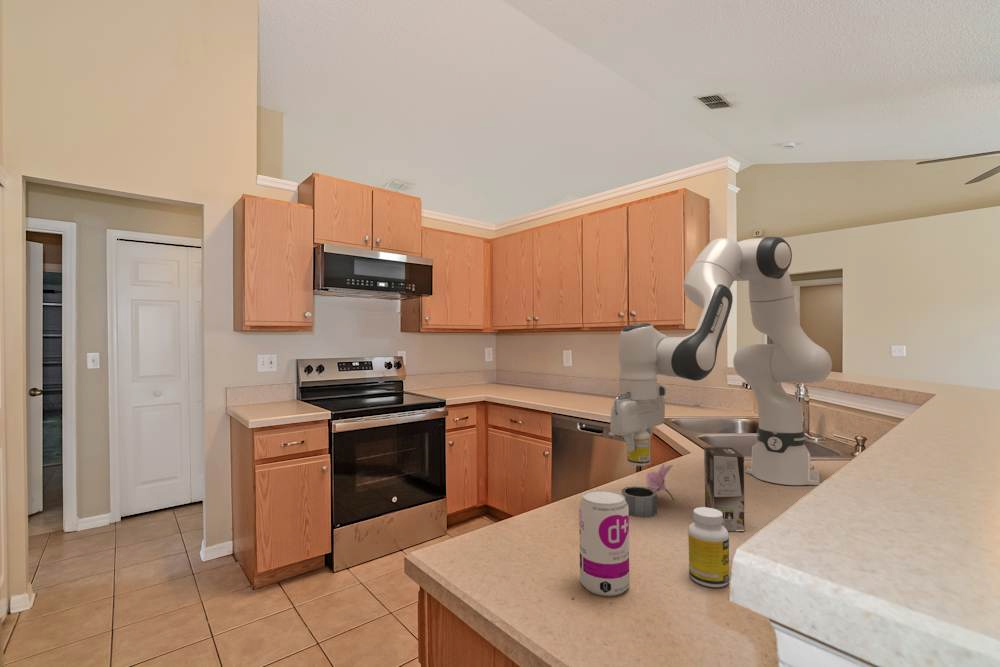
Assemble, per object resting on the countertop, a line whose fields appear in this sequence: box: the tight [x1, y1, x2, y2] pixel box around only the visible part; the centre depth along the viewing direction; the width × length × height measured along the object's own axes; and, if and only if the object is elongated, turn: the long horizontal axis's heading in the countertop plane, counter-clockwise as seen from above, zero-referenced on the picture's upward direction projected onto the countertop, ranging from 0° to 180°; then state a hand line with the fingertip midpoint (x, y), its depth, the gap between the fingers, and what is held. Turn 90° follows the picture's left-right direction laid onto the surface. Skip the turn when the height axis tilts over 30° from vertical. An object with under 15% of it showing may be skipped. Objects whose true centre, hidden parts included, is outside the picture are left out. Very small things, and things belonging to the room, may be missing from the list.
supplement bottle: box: [626, 424, 652, 467], centre depth 115 cm, size 5×5×10 cm
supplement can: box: [578, 489, 630, 597], centre depth 81 cm, size 8×8×15 cm
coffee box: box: [703, 446, 745, 532], centre depth 106 cm, size 9×6×16 cm
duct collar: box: [621, 486, 658, 518], centre depth 114 cm, size 8×8×4 cm
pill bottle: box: [687, 506, 730, 588], centre depth 82 cm, size 6×6×12 cm
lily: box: [645, 461, 675, 502], centre depth 121 cm, size 12×12×10 cm
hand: (638, 448), depth 115 cm, fingers closed on supplement bottle, 5 cm apart
